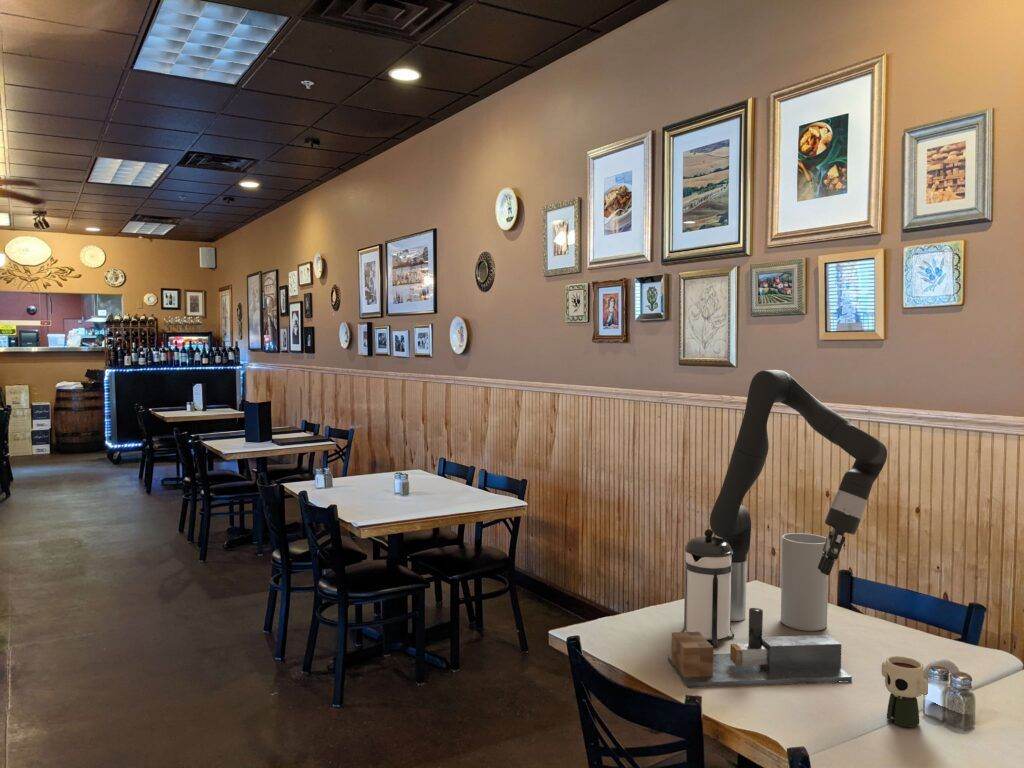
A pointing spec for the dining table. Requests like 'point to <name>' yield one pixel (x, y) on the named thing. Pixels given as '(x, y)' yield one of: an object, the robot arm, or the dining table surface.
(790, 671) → the grey base with blocks
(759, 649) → the slider
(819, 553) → the cylinder vase
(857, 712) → the dining table surface
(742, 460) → the robot arm
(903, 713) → the character mug
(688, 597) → the coffee press
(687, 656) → the brown wooden block
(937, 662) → the donut
